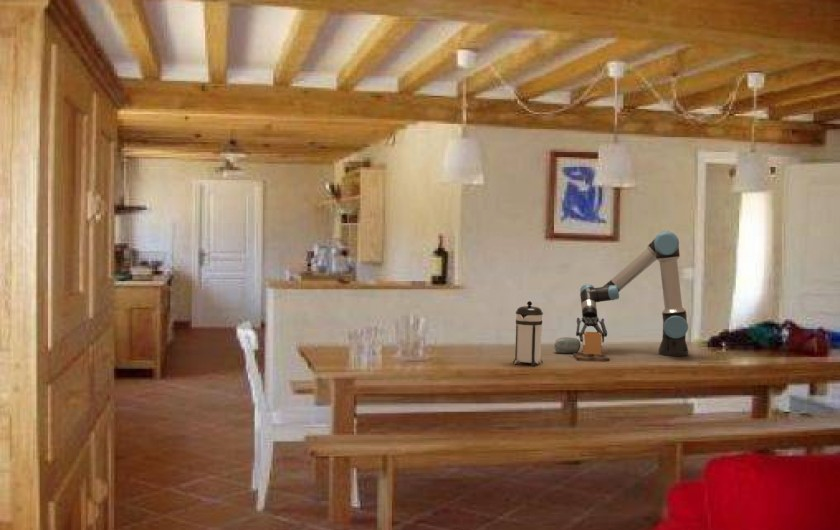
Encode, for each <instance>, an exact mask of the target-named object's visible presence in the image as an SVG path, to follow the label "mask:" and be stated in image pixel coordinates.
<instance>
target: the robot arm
mask: <svg viewBox="0 0 840 530" xmlns="http://www.w3.org/2000/svg"><path fill="white" fill-rule="evenodd" d="M679 245H680V241H679V237H678V236H677V235H676V234H675V233H674V232H672V231H669V230H667V231H666V230H665V231H661V232H659V233H658V234H656V236H655V237H654V239H652V241H651V242H650V243H649V244H648V245H647V248H646V249H645V250H644V251H642V252H641V253H640V254H639V255H638V256H637V257H636V258H634V259H633V260H632V261H631V262H629V264H628V265H626V266H625V267H624V268H623V269H622V270H620V271H619V272H618V273H617V274H616V275H615V276H614V277H613V278H611V279H610V280H609V281H607V282H606V283H605V284H604V285H603V286H600V287H595V286H594V285H592V284H589V283H588V284H587V283H586V284H584V285H583V284H582V286H581V288H580V289H579V292H580V293H579V296H580V305H581V317H582V318H579V317H577V318H576V324H577V325H576V331H575V332H576V333H575V336H576V337H579V341H580V343H581V344H582V349H583V348H584V347H585V339H584V334H583V332H586V329H587V328H588V327H593V328H594V329H595V330H596V332H599V333H601V334H602V337H601V350H602V349H603V346H604V345H603V343H605V338H606V337H607V336H608V331H607V328H606V324H605V318H600V319H599V317H598V310H597V303H601V302H609V301H615V300H619V299H620V292H621V291H622V290H623V289H624V288H625V287H627V285H629V284H630V283H631V282H632V281H634V280H635V279H636V278H637V277H638V276H639V275H641V274H642V273H644V271H646V269H648V268H649V267H650V266H651V265H653V263H655V262H656V261H657V262H658V263H659V266H660V267H659V268H660V277H661V278H660V279H661V288H662V297H663V305H664V309H663V310H662V312H661V315H662V339H661V341H660V344H659V348H658V354H659V355H661V354H662V355H663V356H667V355H673V356H672V357H684V356H683V355H688V356H689V353H690V352H689V348H688V344H687V341H686V339H687V338H686V334H687V332H688V330H689V323H688V319H687V318H688V317H687V315H688V314H687V312H686V311H687V310H686V309H685V308H684V307H683V304H682V303H683V302H682V293H681V285H680V283H681V282H680V275H679V273H680V272H679V265H678V260H679V258H681V257H680V256H681V255H680V246H679ZM581 323H583V326H582V328H581ZM598 323H599V324H600V326H601V327H600V326H599V324H598ZM580 328H581V331H580Z"/></svg>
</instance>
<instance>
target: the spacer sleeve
mask: <svg viewBox="0 0 840 530" xmlns="http://www.w3.org/2000/svg"><path fill="white" fill-rule="evenodd" d="M583 334H584V339H585V347H584V348H583V347H582V348H581V349H582V354H602V349H601V337H602V334H601V333H599V332H597V331H584V332H583Z"/></svg>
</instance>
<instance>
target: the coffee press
mask: <svg viewBox="0 0 840 530" xmlns="http://www.w3.org/2000/svg"><path fill="white" fill-rule="evenodd" d="M526 303H527V306H526V305H524V306H519V307H518V308H517V310H516V311H515V315H516V316H515V317H516V319H515V355H514V359H513V361H512V364H513V363H514V364H515V363H516V365H517V364H518V363H525V364H526V363H527V364H530V366H531V367H535V366H536V363H538V364H540V365H542V364H543V363H544V361H543V359H542V357H541V356H542V330H543V329H542V328H543V326H542V325H543V315H544V312H543V311H542V309H541V308H540V307H538V306H532V305H533V303H532V301H530V300H529V301H527V302H526ZM541 363H542V364H541Z"/></svg>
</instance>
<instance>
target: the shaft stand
mask: <svg viewBox="0 0 840 530" xmlns="http://www.w3.org/2000/svg"><path fill="white" fill-rule="evenodd" d="M573 358H574V359H575V360H576V361H577V362H578V361H579V362H580V361H581V362H607V361H610V362H611V358H610V356H608V355H607V354H606V353H605V354H603V353H601V354H584V353H583V352H582V353H578V352H577V353H573Z"/></svg>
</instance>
